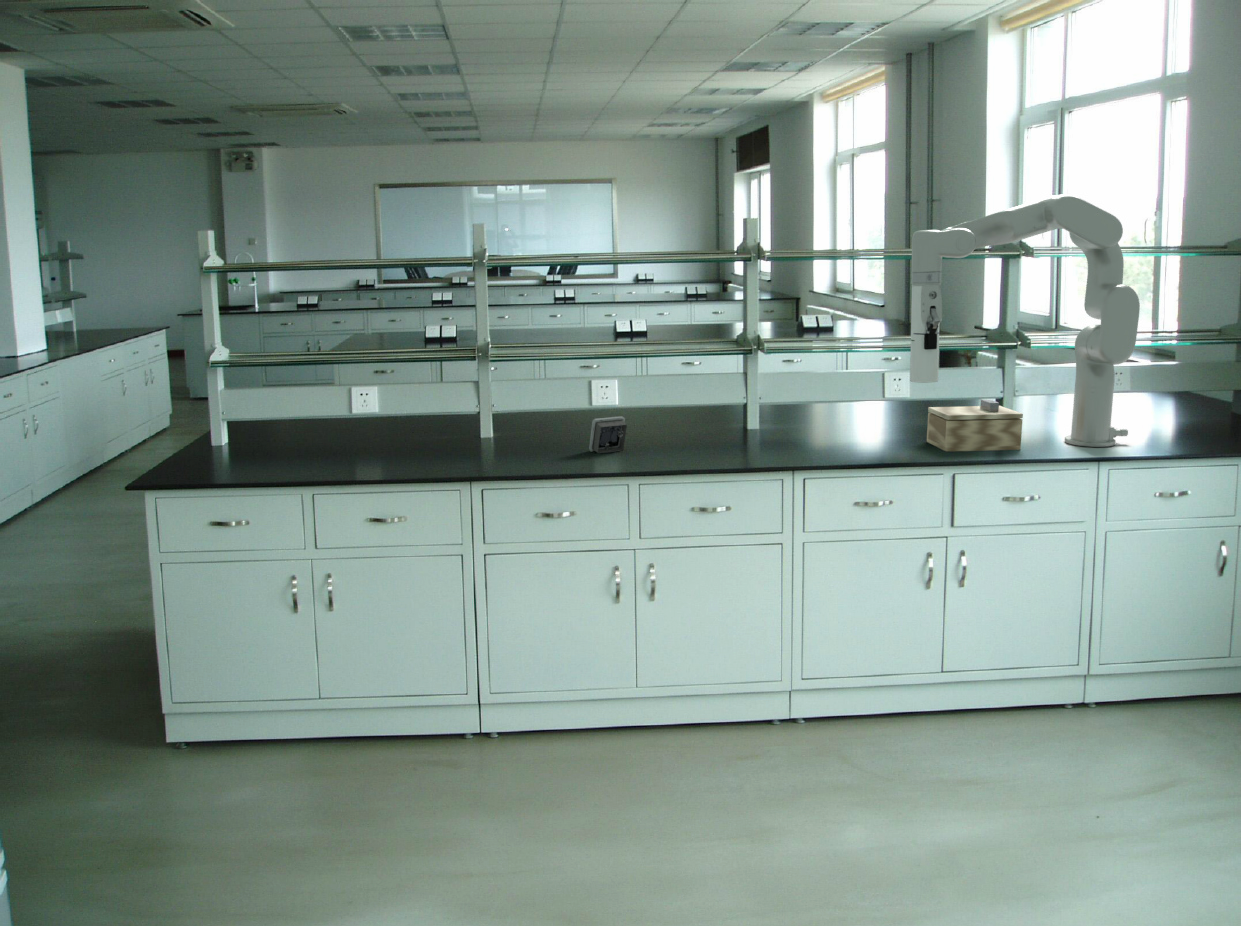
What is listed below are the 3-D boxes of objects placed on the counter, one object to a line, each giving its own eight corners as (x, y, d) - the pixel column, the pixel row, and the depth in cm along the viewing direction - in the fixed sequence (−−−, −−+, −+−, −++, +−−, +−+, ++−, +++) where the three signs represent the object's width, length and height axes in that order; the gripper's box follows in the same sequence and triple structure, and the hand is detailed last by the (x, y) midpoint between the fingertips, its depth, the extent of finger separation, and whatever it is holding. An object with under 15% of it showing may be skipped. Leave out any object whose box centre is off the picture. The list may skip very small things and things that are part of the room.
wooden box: (997, 439, 294) (999, 411, 292) (1020, 449, 280) (1022, 419, 279) (926, 441, 292) (928, 412, 291) (946, 451, 279) (947, 421, 277)
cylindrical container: (926, 383, 277) (928, 285, 272) (904, 381, 282) (906, 285, 277) (943, 380, 281) (946, 284, 276) (921, 378, 287) (923, 283, 281)
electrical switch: (619, 448, 288) (620, 414, 285) (628, 453, 284) (629, 419, 281) (588, 451, 284) (589, 417, 281) (597, 456, 279) (598, 422, 277)
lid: (999, 410, 292) (1000, 396, 292) (1022, 418, 279) (1023, 404, 278) (928, 411, 291) (928, 398, 290) (947, 420, 277) (948, 406, 276)
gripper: (953, 279, 268) (951, 350, 272) (928, 277, 285) (926, 344, 289) (924, 280, 267) (922, 351, 271) (900, 278, 284) (899, 345, 288)
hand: (924, 347), depth 280 cm, fingers closed on cylindrical container, 7 cm apart
